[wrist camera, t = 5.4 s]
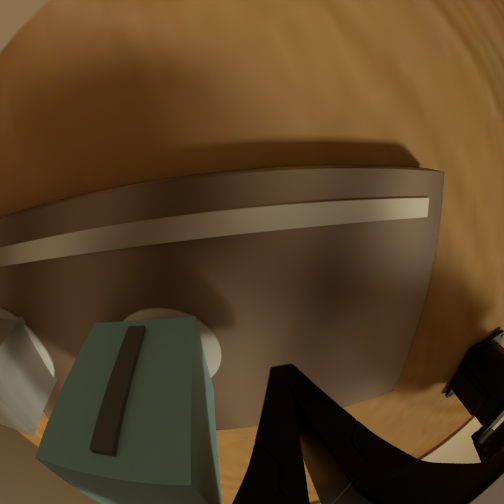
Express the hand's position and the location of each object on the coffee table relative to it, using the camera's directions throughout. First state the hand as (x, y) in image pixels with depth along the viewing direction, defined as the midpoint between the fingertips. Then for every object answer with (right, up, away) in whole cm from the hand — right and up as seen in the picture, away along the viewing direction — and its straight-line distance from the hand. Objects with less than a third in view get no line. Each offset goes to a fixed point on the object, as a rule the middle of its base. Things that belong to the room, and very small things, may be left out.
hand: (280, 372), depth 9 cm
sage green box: (-5, 0, +1) cm, 5 cm away
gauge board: (-4, +1, +3) cm, 5 cm away
